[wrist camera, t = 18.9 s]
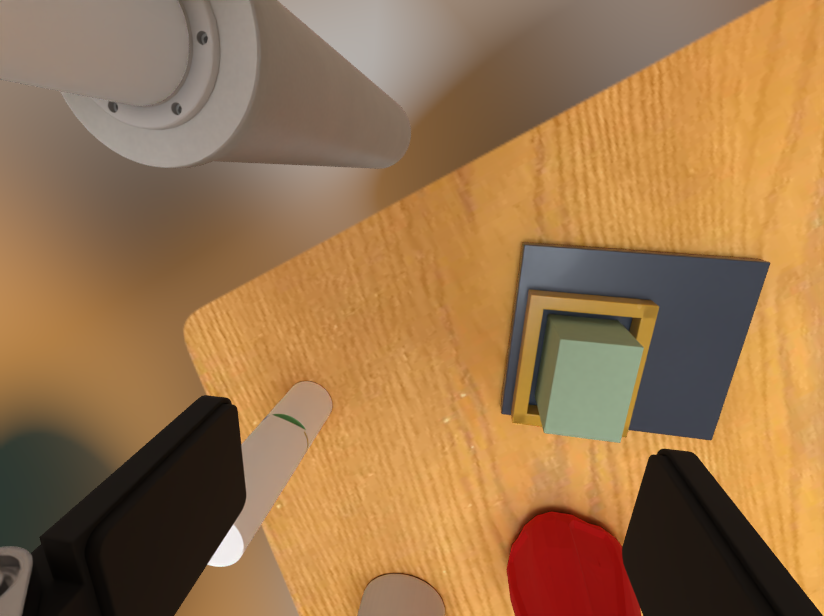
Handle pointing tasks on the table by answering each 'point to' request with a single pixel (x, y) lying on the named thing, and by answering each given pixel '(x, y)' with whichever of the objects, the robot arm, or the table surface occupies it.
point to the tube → (274, 461)
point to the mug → (400, 597)
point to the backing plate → (640, 326)
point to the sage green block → (586, 377)
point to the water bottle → (568, 570)
